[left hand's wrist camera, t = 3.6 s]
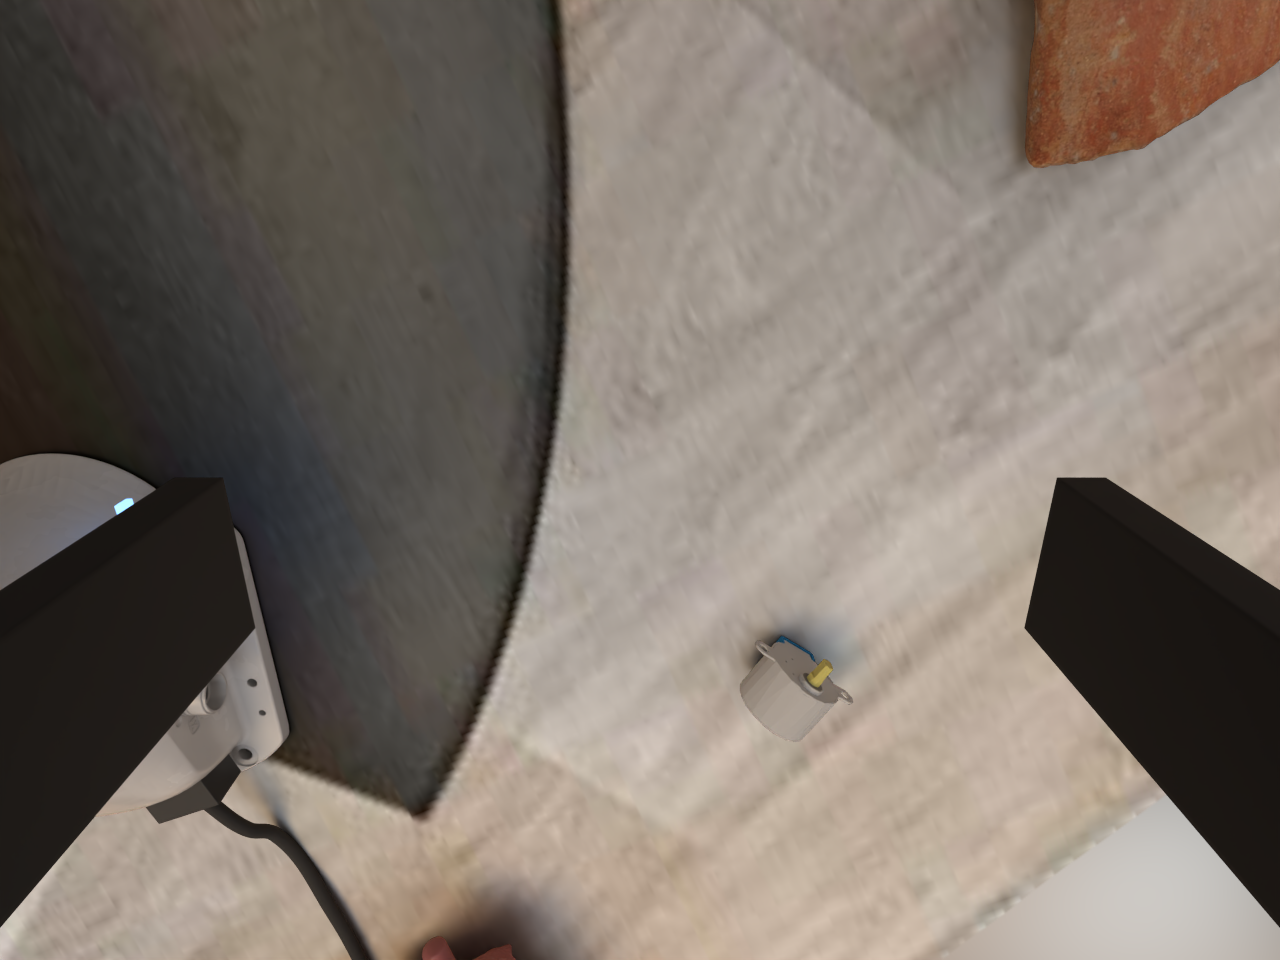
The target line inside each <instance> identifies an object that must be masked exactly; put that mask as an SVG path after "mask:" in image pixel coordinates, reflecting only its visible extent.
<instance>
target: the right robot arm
mask: <svg viewBox="0 0 1280 960" xmlns="http://www.w3.org/2000/svg"><path fill="white" fill-rule="evenodd" d="M154 490H156V489H155V488H154V487H152V486H151V485H149V484H148V483H146V482H145V481H143V480H141V479H140V478H138V477H136V476H134V475H133V474H131V473H128V472H126V471H124V470H122V469H120V468H118V467H115V466H113V465H110V464H107V463H105V462H102V461H98V460H95V459H91V458H87V457H82V456H77V455H70V454H55V453H48V454H35V455H28V456H23V457H19V458H15V459H12V460H10V461H7V462H4V463H2V464H0V590H1V589H3V588H4V587H6V586H7V585H9V584H11V583H12V582H14V581H15V580H17V579H18V578H20V577H21V576H23V575H24V574H26V573H28V572H29V571H31V570H32V569H34V568H35V567H37V566H38V565H40V564H41V563H43V562H45V561H46V560H48V559H49V558H51V557H52V556H54V555H55V554H57V553H59V552H60V551H62V550H63V549H65V548H66V547H68V546H69V545H71V544H72V543H74V542H76V541H77V540H79V539H80V538H82V537H83V536H85V535H86V534H88V533H89V532H91V531H93V530H94V529H96V528H97V527H99V526H100V525H102V524H103V523H105V522H106V521H108V520H110V519H111V518H113V517H114V516H116V515H117V514H119V513H120V512H122V511H124V510H125V509H127V508H128V507H130V506H131V505H133V504H134V503H136V502H137V501H139V500H141V499H142V498H144V497H145V496H147V495H148V494H150V493H151V492H153V491H154ZM234 531H235V535H236V540H237V545H238V549H239V554H240V559H241V563H242V568H243V572H244V577H245V582H246V586H247V591H248V596H249V600H250V605H251V609H252V614H253V619H254V623H255V629H254V630H253V632H252V633H251V634H250V635H249V636H248V637H247V639H246V640H245V641H244V642H243V643H242V644H241V646H240V647H239V648H238V649H237V650H236V651H235V653H234V654H233V655H232V656H231V657H230V659H229V660H228V661H227V662H226V663H225V664H224V666H223V667H222V668H221V669H220V670H219V671H218V673H217V674H216V675H215V676H214V677H213V678H212V680H211V681H210V682H209V683H208V684H207V686H206V687H205V688H204V689H203V690H202V691H201V693H200V694H199V695H198V696H197V697H196V698H195V700H194V701H193V702H192V703H191V704H190V705H189V707H188V708H187V709H186V710H185V711H184V713H183V714H182V715H181V716H180V717H179V718H178V720H177V721H176V722H175V723H174V724H173V725H172V727H171V728H170V729H169V730H168V731H167V732H166V734H165V735H164V736H163V737H162V738H161V739H160V741H159V742H158V743H157V744H156V745H155V747H154V748H153V749H152V750H151V751H150V752H149V754H148V755H147V756H146V757H145V758H144V759H143V761H142V762H141V763H140V764H139V765H138V766H137V768H136V769H135V770H134V771H133V772H132V774H131V775H130V776H129V777H128V778H127V779H126V781H125V782H124V783H123V784H122V785H121V786H120V788H119V789H118V790H117V791H116V792H115V793H114V795H113V796H112V797H111V798H110V799H109V801H108V802H107V803H106V804H105V805H104V806H103V808H102V809H101V810H100V811H99V812H98V813H97V815H96V816H95V817H98V816H106V815H112V814H118V813H124V812H128V811H133V810H137V809H140V808H144V807H146V808H147V809H148V811H149V812H150V813H151V814H152V816H153V817H154V818H155V819H156V821H157V822H158V823H159V824H160V823H163V822H166V821H169V820H173V819H176V818H179V817H182V816H185V815H188V814H191V813H194V812H197V811H201V810H205V811H206V812H207V813H209V814H210V815H211V816H213V817H214V818H215V819H216V820H218V821H219V822H220V823H222V824H223V825H224V826H226V827H227V828H229V829H231V830H232V831H234V832H236V833H238V834H240V835H242V836H245V837H249V838H266V839H269V840H271V841H272V842H273V843H275V844H276V845H277V846H278V847H279V848H281V849H282V850H283V851H284V852H285V853H286V854H287V855H288V856H289V858H290V859H291V860H292V861H293V862H294V864H295V865H296V867H297V868H298V869H299V871H300V872H301V874H302V875H303V877H304V879H305V880H306V882H307V884H308V885H309V887H310V889H311V890H312V892H313V894H314V896H315V897H316V899H317V901H318V902H319V904H320V906H321V908H322V909H323V911H324V912H325V914H326V916H327V917H328V919H329V920H330V922H331V924H332V925H333V927H334V928H335V930H336V932H337V933H338V935H339V937H340V939H341V940H342V942H343V944H344V946H345V948H346V950H347V951H348V953H349V955H350V957H351V959H352V960H367V958H366V956H365V954H364V952H363V950H362V948H361V946H360V944H359V942H358V940H357V938H356V936H355V934H354V932H353V931H352V929H351V927H350V925H349V924H348V922H347V920H346V918H345V917H344V915H343V914H342V912H341V910H340V909H339V907H338V905H337V904H336V902H335V901H334V899H333V897H332V896H331V894H330V892H329V890H328V889H327V887H326V885H325V883H324V882H323V880H322V878H321V876H320V875H319V873H318V871H317V870H316V868H315V866H314V865H313V863H312V862H311V860H310V859H309V857H308V856H307V855H306V853H305V852H304V851H303V850H302V848H301V847H300V846H299V845H298V844H297V842H296V841H295V840H294V839H293V838H291V837H290V836H289V835H288V834H287V833H286V832H284V831H283V830H282V829H280V828H279V827H277V826H274V825H270V824H255V823H252V822H250V821H248V820H246V819H244V818H242V817H241V816H239V815H238V814H236V813H235V812H234V811H232V810H231V809H230V808H228V807H227V806H226V805H225V804H224V803H222V802H221V801H222V799H223V798H224V796H225V795H226V793H227V792H228V790H229V789H230V787H231V786H232V784H233V783H234V781H235V780H236V778H237V777H238V775H239V774H240V772H242V771H245V770H247V769H249V768H251V767H253V766H255V765H257V764H259V763H260V762H262V761H263V760H265V759H266V758H268V757H269V756H270V755H271V754H273V753H274V752H275V751H276V750H277V749H278V748H279V747H280V746H281V744H282V743H283V742H284V741H285V740H286V738H287V737H288V735H289V724H288V720H287V715H286V711H285V707H284V703H283V699H282V695H281V691H280V687H279V683H278V679H277V674H276V670H275V666H274V662H273V658H272V654H271V650H270V646H269V642H268V638H267V634H266V630H265V626H264V622H263V617H262V613H261V609H260V605H259V601H258V597H257V593H256V589H255V585H254V581H253V577H252V573H251V569H250V565H249V561H248V556H247V552H246V548H245V544H244V541H243V538H242V536H241V534H240V533H239V532H238V531H237V530H236V529H235V528H234ZM246 749H248V750H249V751H248V750H246Z"/></svg>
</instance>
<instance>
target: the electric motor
mask: <svg viewBox="0 0 1280 960" xmlns="http://www.w3.org/2000/svg"><path fill="white" fill-rule="evenodd" d="M755 646H756V647H757V649H758V650H759V651H760V652H761V653H762V654H763V655H764V656H763V657H762V658H761V660H760V661H759V662H758V663H757V664H756V666H755V667H754V668H753V669H752V670H751V671H750V673H749V674H748V675H747V676H746V677H745V679H744V680H743V681H742V682H741V684H740V693H741V696H742V698H743V701H744V703H745V705H746V706H747V708H748V709H749V711H750V712H751V713H752V715H753V716H754V717H755V718H756V719H757V720H758V721H759V722H760V723H761V724H762V725H763V726H764V727H766V728H767V729H768V730H769V731H771V732H772V733H773V734H775V735H777V736H779V737H781V738H783V739H785V740H788V741H793V742H797V741H801V740H802V739H803V738H804V737H805V736H806V735H807V733H808V732H809V731H810V730H811V729H812V728H813V727H814V726H815V725H816V724H817V723H818V722H819V720H820V719H821V718H822V717H823V716H824V715H825V714H826V713H827V712H828V711H829V710H830V709H831V708H832V706H833V705H834V704H835V703H836V702H837V701H838V699H839V700H841V701H843V702H845V703H847V704H852V703H853V700H852V697H851V696H850V695H849V694H848V693H847V692H846V691H845V690H843V689H842V688H840V687H838V686H836V685H835V684H833V682H832V680H831V679H830V678H829V676H828V675H829V674H830V673H831V672H832V670H833V667H832V665H831V663H830V662H829V661H827V660H825V659H823V660H822V662H821V663H820V664H819V665H817V664H816V663H815V659H814V657H813V655H812V654H811V653H810V652H809V651H807V650H805V649H804V648H802V647H800V646H799V645H797V644H795V643H794V642H792V641H790V640H789V639H787V638H785V637H784V636H781V637H780V638H779V639H778V640H777V642H776V643H774V644H773V645H772V647H770V646H768V645H767V644H765V643H763V642H762V641H756V642H755ZM761 646H763V647H764V648H765V649H766V650H767V652H766V651H764V650H763V649H762V647H761ZM841 693H843V694H844V695H845V696H846V697H847V699H846V698H845V697H844V696H843V695H842V694H841Z"/></svg>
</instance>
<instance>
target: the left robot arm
mask: <svg viewBox="0 0 1280 960" xmlns="http://www.w3.org/2000/svg"><path fill="white" fill-rule="evenodd" d="M254 629H255V623H254V619H253V614H252V609H251V605H250V600H249V596H248V591H247V586H246V582H245V577H244V572H243V568H242V563H241V559H240V554H239V549H238V545H237V540H236V535H235V531H234V526H233V522H232V517H231V512H230V508H229V503H228V498H227V494H226V489H225V485H224V480H223V478H173V479H171V480H170V481H168V482H167V483H165V484H164V485H162V486H161V487H159V488H158V489H156V490H154V491H153V492H151V493H150V494H148V495H147V496H145V497H144V498H142V499H141V500H139V501H137V502H136V503H134V504H133V505H131V506H130V507H128V508H127V509H125V510H124V511H122V512H120V513H119V514H117V515H116V516H114V517H113V518H111V519H110V520H108V521H106V522H105V523H103V524H102V525H100V526H99V527H97V528H96V529H94V530H93V531H91V532H89V533H88V534H86V535H85V536H83V537H82V538H80V539H79V540H77V541H76V542H74V543H72V544H71V545H69V546H68V547H66V548H65V549H63V550H62V551H60V552H59V553H57V554H55V555H54V556H52V557H51V558H49V559H48V560H46V561H45V562H43V563H41V564H40V565H38V566H37V567H35V568H34V569H32V570H31V571H29V572H28V573H26V574H24V575H23V576H21V577H20V578H18V579H17V580H15V581H14V582H12V583H11V584H9V585H7V586H6V587H4V588H3V589H1V590H0V927H1V926H2V925H3V924H4V923H5V921H6V920H7V919H8V918H9V917H10V916H11V914H12V913H13V912H14V911H15V910H16V908H17V907H18V906H19V905H20V904H21V903H22V901H23V900H24V899H25V898H26V897H27V896H28V894H29V893H30V892H31V891H32V890H33V889H34V887H35V886H36V885H37V884H38V883H39V881H40V880H41V879H42V878H43V877H44V876H45V874H46V873H47V872H48V871H49V870H50V869H51V867H52V866H53V865H54V864H55V863H56V862H57V860H58V859H59V858H60V857H61V856H62V854H63V853H64V852H65V851H66V850H67V849H68V847H69V846H70V845H71V844H72V843H73V842H74V840H75V839H76V838H77V837H78V836H79V835H80V833H81V832H82V831H83V830H84V829H85V828H86V826H87V825H88V824H89V823H90V822H91V820H92V819H93V818H94V817H95V816H96V815H97V813H98V812H99V811H100V810H101V809H102V808H103V806H104V805H105V804H106V803H107V802H108V801H109V799H110V798H111V797H112V796H113V795H114V793H115V792H116V791H117V790H118V789H119V788H120V786H121V785H122V784H123V783H124V782H125V781H126V779H127V778H128V777H129V776H130V775H131V774H132V772H133V771H134V770H135V769H136V768H137V766H138V765H139V764H140V763H141V762H142V761H143V759H144V758H145V757H146V756H147V755H148V754H149V752H150V751H151V750H152V749H153V748H154V747H155V745H156V744H157V743H158V742H159V741H160V739H161V738H162V737H163V736H164V735H165V734H166V732H167V731H168V730H169V729H170V728H171V727H172V725H173V724H174V723H175V722H176V721H177V720H178V718H179V717H180V716H181V715H182V714H183V713H184V711H185V710H186V709H187V708H188V707H189V705H190V704H191V703H192V702H193V701H194V700H195V698H196V697H197V696H198V695H199V694H200V693H201V691H202V690H203V689H204V688H205V687H206V686H207V684H208V683H209V682H210V681H211V680H212V678H213V677H214V676H215V675H216V674H217V673H218V671H219V670H220V669H221V668H222V667H223V666H224V664H225V663H226V662H227V661H228V660H229V659H230V657H231V656H232V655H233V654H234V653H235V651H236V650H237V649H238V648H239V647H240V646H241V644H242V643H243V642H244V641H245V640H246V639H247V637H248V636H249V635H250V634H251V633H252V632H253V630H254ZM1025 629H1026V630H1027V632H1028V633H1029V634H1030V635H1031V636H1032V637H1033V639H1034V640H1035V641H1036V642H1037V643H1038V644H1039V646H1040V647H1041V648H1042V649H1043V650H1044V651H1045V653H1046V654H1047V655H1048V656H1049V657H1050V659H1051V660H1052V661H1053V662H1054V663H1055V664H1056V666H1057V667H1058V668H1059V669H1060V670H1061V671H1062V673H1063V674H1064V675H1065V676H1066V677H1067V678H1068V680H1069V681H1070V682H1071V683H1072V684H1073V686H1074V687H1075V688H1076V689H1077V690H1078V691H1079V693H1080V694H1081V695H1082V696H1083V697H1084V698H1085V700H1086V701H1087V702H1088V703H1089V704H1090V705H1091V707H1092V708H1093V709H1094V710H1095V711H1096V713H1097V714H1098V715H1099V716H1100V717H1101V718H1102V720H1103V721H1104V722H1105V723H1106V724H1107V725H1108V727H1109V728H1110V729H1111V730H1112V731H1113V732H1114V734H1115V735H1116V736H1117V737H1118V738H1119V739H1120V741H1121V742H1122V743H1123V744H1124V745H1125V747H1126V748H1127V749H1128V750H1129V751H1130V752H1131V754H1132V755H1133V756H1134V757H1135V758H1136V759H1137V761H1138V762H1139V763H1140V764H1141V765H1142V766H1143V768H1144V769H1145V770H1146V771H1147V772H1148V774H1149V775H1150V776H1151V777H1152V778H1153V779H1154V781H1155V782H1156V783H1157V784H1158V785H1159V786H1160V788H1161V789H1162V790H1163V791H1164V792H1165V793H1166V795H1167V796H1168V797H1169V798H1170V799H1171V800H1172V802H1173V803H1174V804H1175V805H1176V806H1177V808H1178V809H1179V810H1180V811H1181V812H1182V813H1183V814H1184V816H1185V817H1186V818H1187V819H1188V820H1189V822H1190V823H1191V824H1192V825H1193V826H1194V828H1195V829H1196V830H1197V831H1198V832H1199V833H1200V835H1201V836H1202V837H1203V838H1204V839H1205V840H1206V842H1207V843H1208V844H1209V845H1210V846H1211V847H1212V849H1213V850H1214V851H1215V852H1216V853H1217V854H1218V856H1219V857H1220V858H1221V859H1222V860H1223V861H1224V863H1225V864H1226V865H1227V866H1228V867H1229V869H1230V870H1231V871H1232V872H1233V873H1234V874H1235V876H1236V877H1237V878H1238V879H1239V880H1240V881H1241V883H1242V884H1243V885H1244V886H1245V887H1246V889H1247V890H1248V891H1249V892H1250V893H1251V894H1252V896H1253V897H1254V898H1255V899H1256V900H1257V901H1258V903H1259V904H1260V905H1261V906H1262V907H1263V908H1264V910H1265V911H1266V912H1267V913H1268V914H1269V916H1270V917H1271V918H1272V919H1273V920H1274V921H1275V922H1276V924H1277V925H1278V926H1279V927H1280V590H1279V589H1277V588H1276V587H1274V586H1273V585H1271V584H1269V583H1268V582H1266V581H1265V580H1263V579H1262V578H1260V577H1259V576H1257V575H1256V574H1254V573H1252V572H1251V571H1249V570H1248V569H1246V568H1245V567H1243V566H1242V565H1240V564H1239V563H1237V562H1235V561H1234V560H1232V559H1231V558H1229V557H1228V556H1226V555H1225V554H1223V553H1221V552H1220V551H1218V550H1217V549H1215V548H1214V547H1212V546H1211V545H1209V544H1208V543H1206V542H1204V541H1203V540H1201V539H1200V538H1198V537H1197V536H1195V535H1194V534H1192V533H1191V532H1189V531H1187V530H1186V529H1184V528H1183V527H1181V526H1180V525H1178V524H1177V523H1175V522H1174V521H1172V520H1170V519H1169V518H1167V517H1166V516H1164V515H1163V514H1161V513H1160V512H1158V511H1156V510H1155V509H1153V508H1152V507H1150V506H1149V505H1147V504H1146V503H1144V502H1143V501H1141V500H1139V499H1138V498H1136V497H1135V496H1133V495H1132V494H1130V493H1129V492H1127V491H1126V490H1124V489H1122V488H1121V487H1119V486H1118V485H1116V484H1115V483H1113V482H1112V481H1110V480H1109V479H1107V478H1057V480H1056V485H1055V489H1054V494H1053V498H1052V503H1051V508H1050V512H1049V517H1048V522H1047V526H1046V531H1045V535H1044V540H1043V545H1042V549H1041V554H1040V559H1039V563H1038V568H1037V572H1036V577H1035V582H1034V586H1033V591H1032V596H1031V600H1030V605H1029V609H1028V614H1027V619H1026V623H1025Z"/></svg>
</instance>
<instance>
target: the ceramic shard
mask: <svg viewBox="0 0 1280 960" xmlns="http://www.w3.org/2000/svg"><path fill="white" fill-rule="evenodd" d="M1034 4H1035V28H1034V42H1033V46H1032V50H1031V59H1030V71H1029V84H1028V98H1027V119H1026V140H1025V151H1026V157H1027V159H1028V161H1029V163H1030V164H1031V165H1032V166H1033V167H1038V168H1044V167H1048V166H1052V165H1062V164H1066V163H1067V164H1076V163H1079V162H1082V161H1088V160H1094V159H1096V158H1098V157H1101V156H1105V155H1109V154H1113V153H1118V152H1123V151H1128V150H1132V149H1135V150H1138V149H1142V148H1144V147H1146V146H1147V145H1148V144H1150V143H1151V142H1152V141H1153V140H1155V139H1156V138H1159V137H1161V136H1163V135H1165V134H1166V133H1168V132H1169V131H1171V130H1172V129H1173V128H1175V127H1177V126H1179V125H1180V124H1182V123H1184V122H1186V121H1188V120H1190V119H1192V118H1193V117H1195V116H1197V115H1199V114H1200V113H1201V112H1202V111H1204V110H1205V109H1206V108H1207V107H1208V106H1209V105H1211V104H1212V103H1214V102H1215V101H1217V100H1218V99H1219V98H1221V97H1223V96H1225V95H1227V94H1228V93H1230V92H1231V91H1233V90H1234V89H1235V88H1237V87H1238V86H1240V85H1242V84H1244V83H1247V82H1249V81H1251V80H1253V79H1255V78H1257V77H1258V76H1260V75H1261V74H1262V73H1264V72H1265V71H1266V70H1268V69H1269V68H1271V67H1272V66H1273V65H1275V64H1276V63H1277V62H1278V61H1279V60H1280V0H1034Z"/></svg>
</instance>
